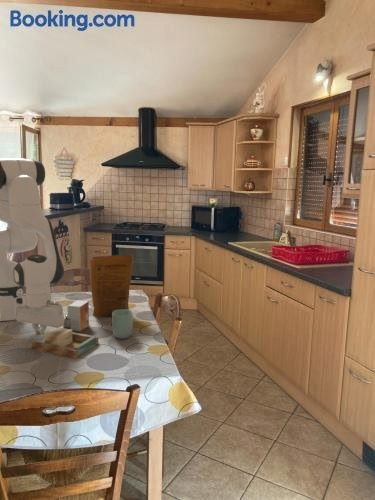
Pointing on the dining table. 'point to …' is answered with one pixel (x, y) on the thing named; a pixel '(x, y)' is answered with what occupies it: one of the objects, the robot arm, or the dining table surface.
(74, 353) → the bay
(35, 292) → the robot arm
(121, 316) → the cup
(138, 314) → the dining table surface
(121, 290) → the pancake mix bag
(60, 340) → the tan tapered block
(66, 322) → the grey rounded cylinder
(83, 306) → the small box
